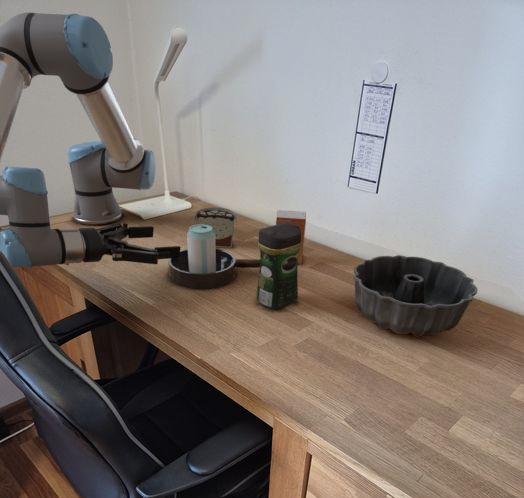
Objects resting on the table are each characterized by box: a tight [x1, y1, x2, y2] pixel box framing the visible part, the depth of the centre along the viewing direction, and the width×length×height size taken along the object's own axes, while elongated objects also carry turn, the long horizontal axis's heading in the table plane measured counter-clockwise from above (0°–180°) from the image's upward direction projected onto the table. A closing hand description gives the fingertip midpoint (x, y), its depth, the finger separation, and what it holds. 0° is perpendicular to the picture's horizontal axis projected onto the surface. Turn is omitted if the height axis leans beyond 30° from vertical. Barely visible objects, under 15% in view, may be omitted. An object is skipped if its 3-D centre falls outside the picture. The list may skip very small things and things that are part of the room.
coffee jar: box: [256, 222, 301, 310], centre depth 104 cm, size 10×8×19 cm
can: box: [186, 224, 217, 273], centre depth 117 cm, size 7×7×12 cm
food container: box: [194, 207, 238, 249], centre depth 136 cm, size 12×6×10 cm, turn 84°
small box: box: [275, 209, 307, 265], centre depth 127 cm, size 8×6×13 cm
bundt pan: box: [352, 254, 478, 338], centre depth 103 cm, size 26×26×10 cm
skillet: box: [167, 248, 236, 290], centre depth 119 cm, size 17×17×4 cm
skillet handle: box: [235, 258, 260, 269], centre depth 120 cm, size 13×2×2 cm, turn 95°
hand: (165, 241), depth 114 cm, fingers open, 13 cm apart
